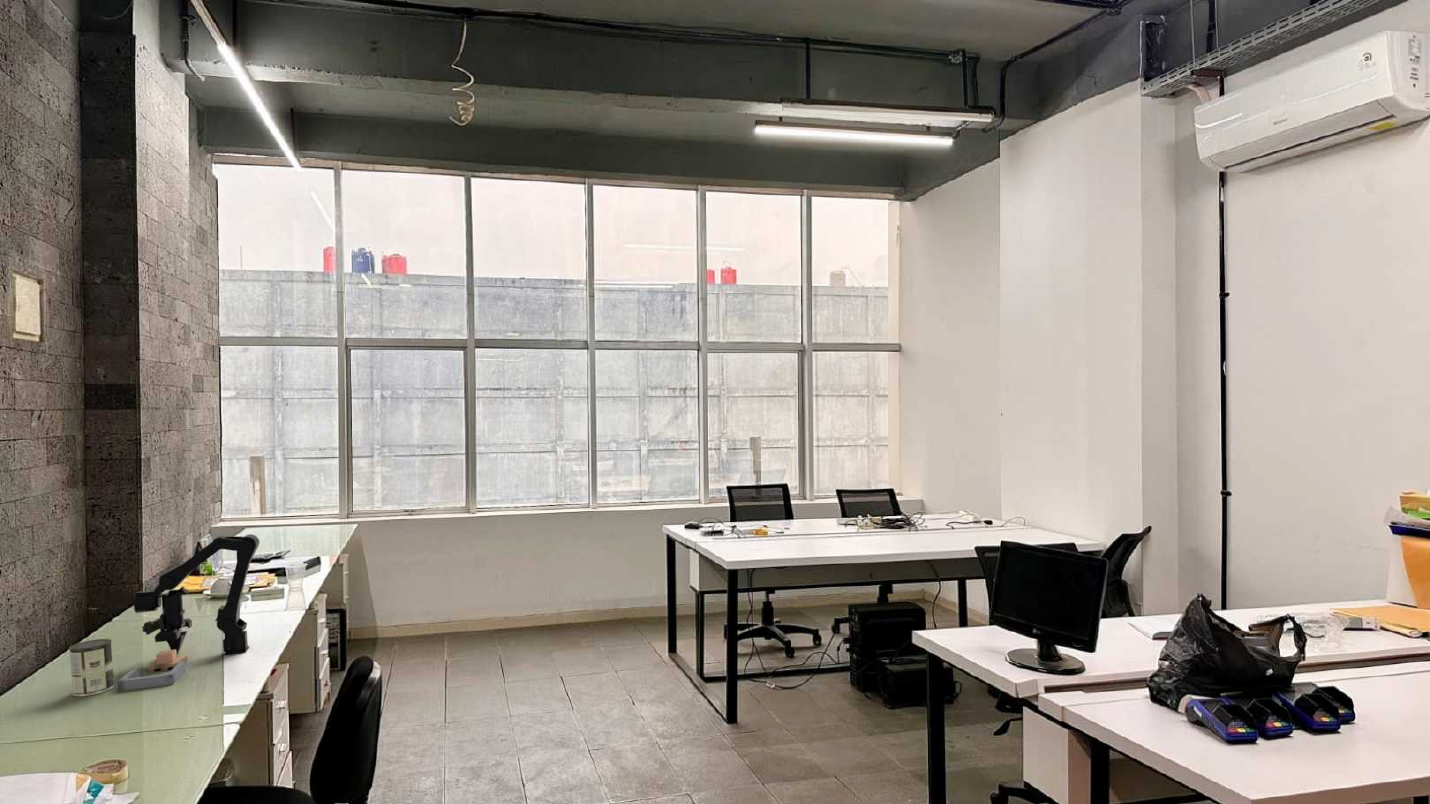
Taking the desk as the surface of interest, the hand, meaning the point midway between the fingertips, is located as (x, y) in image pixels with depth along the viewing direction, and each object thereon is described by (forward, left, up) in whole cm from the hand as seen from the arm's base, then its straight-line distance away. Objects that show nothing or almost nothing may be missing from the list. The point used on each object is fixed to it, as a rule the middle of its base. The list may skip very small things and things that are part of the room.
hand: (175, 655), depth 289 cm
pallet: (0, +8, -2) cm, 8 cm away
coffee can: (+15, +25, -1) cm, 30 cm away
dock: (0, +22, -1) cm, 22 cm away
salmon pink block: (0, +9, +1) cm, 9 cm away
